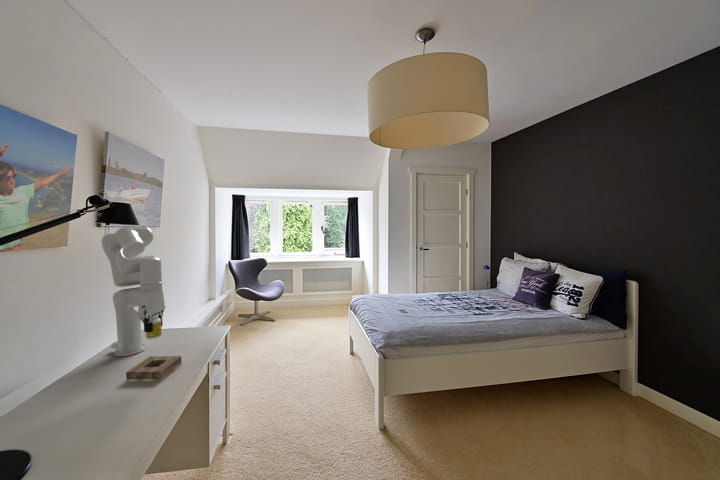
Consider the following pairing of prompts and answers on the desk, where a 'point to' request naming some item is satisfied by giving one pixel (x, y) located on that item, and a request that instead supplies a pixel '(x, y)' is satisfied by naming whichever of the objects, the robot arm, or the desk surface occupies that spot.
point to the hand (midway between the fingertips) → (153, 328)
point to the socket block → (153, 368)
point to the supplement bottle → (155, 327)
